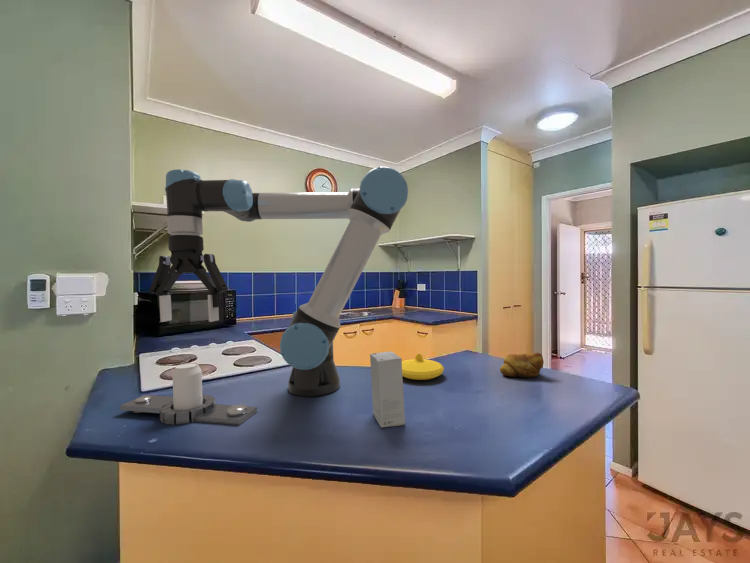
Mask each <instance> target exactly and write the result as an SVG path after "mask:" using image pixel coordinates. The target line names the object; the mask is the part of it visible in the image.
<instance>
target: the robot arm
mask: <svg viewBox="0 0 750 563" xmlns="http://www.w3.org/2000/svg"><path fill="white" fill-rule="evenodd" d="M164 191H165V198H166V212H167V213H166V214H167V215H166V217H167V219H166V221H167V225H166V226H167V233H168V234H169V236H168V237H167V244H168V245H167V246H168V251H169V252H170V256H169V255H159V258H158V266H157V269H156V271H155V274H154V277H153V279H152V282H151V285H150V288H149V289H148V290H149V291H148V292H149V293H150V294H154V295H156V296H157V308H158V309H159V318H160V323H164V322H170V321H172V320H173V319H172V318H173V317H172V315H173V314H172V297H171V295H172V294H170V293H169V292H170V291H171V289H172V288H173V286H174V285H175V283H176V282H177V280H178V279H179V277H180V276H182V275H183V274H194V275H195V276H196V277H197V278H198V279H199V281H200V282H201V283H202V284H203V286H204V287H205V288H206V289H207V290H208V291H209V294H208V295H207V308H208V309H207V311H208V323H209V322H210V323H212V322H216V321H217V322H218V321H220V314H219V313H220V312H219V308H220V307H221V306H222V303H221V302H222V301H221V294H223V293H225V292H227V291H228V290H229V288H228V285H227V283H226V281H225V279H224V277H223V275H222V273H221V271H220V269H219V267H218V265H217V263H216V257H215V254H212V253H211V254H210V253H204V254H203V251H204V249H205V248H204V247H205V246H204V237H202V235H203V234H204V232H203V231H204V230H203V229H204V228H203V212H224V213H227V214H229V215H230V216H233V217H234V218H236V219H237V220H239V221H241V222H249V223H250V222H254V221H255V220H315V219H316V220H317V219H318V220H320V219H321V220H322V219H323V220H327V219H329V220H333V219H334V220H337V219H341V220H342V219H343V220H344V219H345V220H347V219H348V220H349V222H348V224H347V227H346V228H345V231H344V232H343V234H342V236H341V239H340V240H339V242H338V244H337V246H336V248H335V250H334V252H333V254H332V256H331V257H330V259H329V262H328V264H327V265H326V267H325V269H324V271H323V273H322V275H321V277H320V279H319V281H318V283H317V284H316V287H315V289H314V291H313V293H312V295H311V297H310V298H309V301H308V302H307V303H303V304H301V305H299V307H298V308H297V310H295V311H294V312H292V318H291V322H290V324H289V326H288V327H287V328H286V329H285V330H284V331H283V333H281V334H282V335H281V338H280V341H279V351H280V354H281V356H282V358H283V360H284V361H285V363H286V364H288V365H289V366H290V367H292V368H291V372H290V375H289V378H288V383H287V385H288V388H287V389H288V392H289V393H290V394H292V395H294V396H299V397H317V396H318V397H319V396H324V395H328V394H330V393H334V392H335V391H338V389H339V388H340V386H341V378H340V375H339V372H338V369H337V366H336V364H335V363H336V362H335V361H334V360H335V359H334V340H335V338H336V336H337V335H338V333H339V330H340V328H341V322H340V316H341V313H342V312H343V310H344V308H345V306H346V304H347V302H348V301H349V298H350V296H351V294H352V292H353V291H354V288H355V286H356V284H357V283H358V280H359V278H360V276H361V274H362V272H363V271H364V269H365V267H366V265H367V262H368V261H369V259H370V257H371V255H372V253H373V251H374V250H375V247H376V245H377V243H378V241H379V240H380V238H381V236H382V235H384V234H388V233H390V231H391V229H392V227H393V225H394V223H395V222H396V219H397V217H398V215H399V214H400V212H401V209H402V208H403V207H404V206H405V205H406V203H407V201H408V194H409V187H408V184H407V181H406V179H405V177H404V176H403V175H402V174H401V173H400V171H398V170H396V169H394V168H392V167H389V166H379V167H378V166H377V167H375V168H372V169H371V170H369V171H367V173H366V174H365V175H364V176H363V177H362V179H361V181H360V185H359V188H350V189H349V190H348V191H347V192H345V191H344V192H343V191H341V192H331V191H330V192H253V191H252V188H251V186H250V183H249V182H248V181H246V180H242V179H233V178H230V179H207V180H203V179H201V176H200V174H198V173H197V172H195V171H193V170H188V169H187V170H185V169H177V168H176V169H171V170H169V171H167V173H166V174H165V187H164ZM203 263H204V265H203Z"/></svg>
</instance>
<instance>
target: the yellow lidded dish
mask: <svg viewBox="0 0 750 563" xmlns="http://www.w3.org/2000/svg"><path fill="white" fill-rule="evenodd" d="M444 370H445V368H444V366H443V365H442V363H440V362H438V361H435V360H432V359H425V358H424V359H423V354H421V353H416V354H415V358H413V359H412V358H411V359H406V360H405V359H404V360H402V378H406V379H409V380H414V381H415V380H416V381H427V380H431V379H435V378H437V377H439V376H441V375H442V374H443V372H444Z"/></svg>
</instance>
